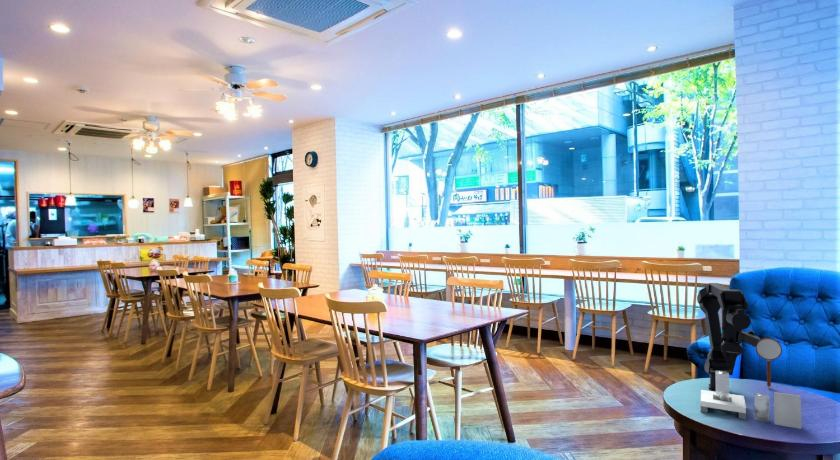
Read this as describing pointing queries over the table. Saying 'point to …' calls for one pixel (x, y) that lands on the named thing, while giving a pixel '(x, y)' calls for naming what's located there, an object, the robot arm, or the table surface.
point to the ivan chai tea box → (787, 410)
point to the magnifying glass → (768, 353)
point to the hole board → (723, 403)
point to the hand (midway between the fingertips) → (731, 366)
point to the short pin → (761, 407)
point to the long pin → (722, 386)
